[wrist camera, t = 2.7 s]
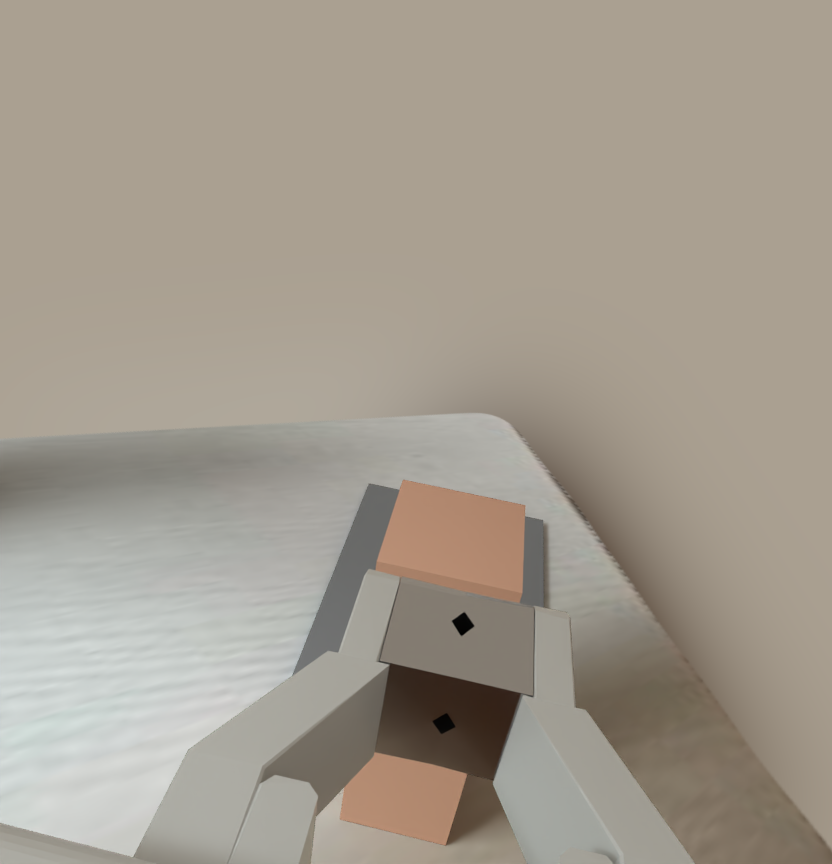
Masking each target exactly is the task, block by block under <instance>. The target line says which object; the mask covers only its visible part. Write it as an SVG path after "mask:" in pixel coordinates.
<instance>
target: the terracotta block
mask: <svg viewBox="0 0 832 864" xmlns="http://www.w3.org/2000/svg"><path fill="white" fill-rule="evenodd" d="M524 530H525V505H521V504H516V503H512V502H507V501H502V500H497V499H493V498H488V497H483V496H478V495H474V494H469V493H464V492H459V491H454V490H450V489H445V488H440V487H435V486H431V485H426V484H421V483H416V482H412V481H407V480H403V481H402V484H401V487H400V490H399V494H398V497H397V500H396V503H395V506H394V509H393V512H392V515H391V518H390V521H389V525H388V528H387V531H386V534H385V537H384V540H383V543H382V546H381V549H380V552H379V556H378V559H377V562H376V569H375V570H376V571H380V572H384V573H387V574H391V575H395V576H399V577H401V578H402V576H403V577H407V578H411V579H415V580H419V581H423V582H427V583H432V584H436V585H440V586H444V587H448V588H452V589H456V590H460V591H464V592H470V593H475V594H480V595H484V596H489V597H494V598H498V599H503V600H508V601H513V602H517V603H520V599H521V596H522V591H523V560H524ZM466 777H467V774H466V773H463V772H459V771H455V770H451V769H448V768H444V767H440V766H437V765H433V764H428V763H423V762H419V761H414V760H409V759H404V758H399V757H395V756H390V755H385V754H380V753H376V752H374V756H373V757H372V759H371V760H370V761H369V762H368V763H367V764H366V765H365V766H364V767H363V768H362V769H361V770H360V771H359V772H358V773H357V774H356V775H355V776H354V777H353V779H352V780H351V781H350V782H349V783H348V784H347V785H346V786H345V787H344V794H343V801H342V808H341V815H340V819H341V820H345V821H349V822H353V823H357V824H361V825H365V826H369V827H373V828H377V829H381V830H385V831H389V832H393V833H397V834H401V835H405V836H409V837H413V838H417V839H421V840H425V841H429V842H433V843H437V844H441V845H445V846H446V843H447V839H448V836H449V833H450V829H451V826H452V823H453V820H454V816H455V813H456V810H457V806H458V803H459V800H460V797H461V793H462V790H463V787H464V783H465V780H466Z"/></svg>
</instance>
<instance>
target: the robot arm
mask: <svg viewBox="0 0 832 864" xmlns="http://www.w3.org/2000/svg"><path fill="white" fill-rule="evenodd" d="M374 752H376V753H380V754H385V755H390V756H395V757H399V758H404V759H409V760H414V761H419V762H423V763H428V764H433V765H437V766H440V767H444V768H448V769H451V770H455V771H459V772H463V773H466V774H470V775H474V776H477V777H481V778H485V779H489V780H492V781H493V786H494V788H495V790H496V793H497V795H498V797H499V800H500V802H501V804H502V807H503V809H504V811H505V814H506V816H507V818H508V821H509V823H510V825H511V828H512V830H513V832H514V835H515V837H516V839H517V841H518V844H519V846H520V848H521V851H522V853H523V855H524V858H525V860H526V862H527V864H695V862H694V861H693V860H692V858H691V857H690V855H689V854H688V853H687V851H686V850H685V848H684V847H683V846H682V844H681V843H680V841H679V840H678V838H677V837H676V836H675V834H674V833H673V831H672V830H671V829H670V827H669V826H668V824H667V823H666V822H665V820H664V819H663V817H662V816H661V814H660V813H659V812H658V810H657V809H656V807H655V806H654V805H653V803H652V802H651V800H650V799H649V798H648V796H647V795H646V793H645V792H644V790H643V789H642V788H641V786H640V785H639V783H638V782H637V781H636V779H635V778H634V776H633V775H632V774H631V772H630V771H629V769H628V768H627V766H626V765H625V764H624V762H623V761H622V759H621V758H620V757H619V755H618V754H617V752H616V751H615V750H614V748H613V747H612V745H611V744H610V742H609V741H608V740H607V738H606V737H605V735H604V734H603V733H602V731H601V730H600V728H599V727H598V726H597V724H596V723H595V721H594V720H593V718H592V717H591V716H590V714H589V713H588V711H587V710H584V709H580V708H576V703H575V686H574V670H573V653H572V637H571V620H570V617H569V615H568V613H567V612H563V611H558V610H553V609H548V608H543V607H538V606H533V607H532V606H531V605H527V604H522V603H517V602H513V601H508V600H503V599H498V598H494V597H489V596H484V595H480V594H475V593H470V592H464V591H460V590H456V589H452V588H448V587H444V586H440V585H436V584H432V583H427V582H423V581H419V580H415V579H411V578H407V577H403V576H402V578H401V577H399V576H395V575H391V574H387V573H384V572H380V571H376V570H372V569H368V571H367V572H366V574H365V575H364V578H363V581H362V584H361V587H360V590H359V593H358V596H357V599H356V602H355V605H354V608H353V610H352V613H351V616H350V619H349V622H348V625H347V628H346V631H345V634H344V637H343V640H342V643H341V646H340V649H339V652H338V653H337V652H332V651H327V652H325V653H324V654H323V655H321V656H320V657H318V658H317V659H316V660H314V661H313V662H311V663H310V664H309V665H307V666H306V667H304V668H303V669H301V670H300V671H299V672H297V673H296V674H294V675H293V676H292V677H290V678H289V679H287V680H286V681H285V682H283V683H282V684H280V685H279V686H277V687H276V688H275V689H273V690H272V691H270V692H269V693H268V694H266V695H265V696H263V697H262V698H261V699H259V700H258V701H256V702H255V703H253V704H252V705H251V706H249V707H248V708H246V709H245V710H244V711H242V712H241V713H239V714H238V715H237V716H235V717H234V718H232V719H231V720H229V721H228V722H227V723H225V724H224V725H222V726H221V727H220V728H218V729H217V730H215V731H214V732H213V733H211V734H210V735H208V736H207V737H205V738H204V739H203V740H201V741H200V742H198V743H197V744H196V745H194V746H193V747H191V748H190V749H189V750H188V751H187V753H186V755H185V757H184V759H183V761H182V763H181V765H180V767H179V769H178V771H177V773H176V775H175V777H174V779H173V781H172V782H171V784H170V786H169V788H168V790H167V792H166V794H165V796H164V798H163V800H162V802H161V804H160V806H159V808H158V810H157V812H156V814H155V816H154V818H153V819H152V821H151V823H150V825H149V827H148V829H147V831H146V833H145V835H144V837H143V839H142V841H141V843H140V845H139V847H138V849H137V851H136V853H135V855H134V856H133V857H130V856H127V855H123V854H119V853H115V852H111V851H107V850H103V849H99V848H95V847H92V846H88V845H84V844H80V843H76V842H72V841H68V840H64V839H61V838H57V837H53V836H49V835H45V834H41V833H37V832H33V831H29V830H26V829H22V828H18V827H14V826H10V825H6V824H2V823H0V864H311V856H312V847H313V838H314V829H315V820H316V816H317V815H318V814H319V813H320V812H321V811H322V810H323V809H324V808H325V807H326V806H327V805H328V804H329V803H330V802H331V801H332V800H333V798H334V797H335V796H336V795H337V794H338V793H339V792H340V791H341V790H342V789H343V788H344V787H345V786H346V785H347V784H348V783H349V782H350V781H351V780H352V779H353V777H354V776H355V775H356V774H357V773H358V772H359V771H360V770H361V769H362V768H363V767H364V766H365V765H366V764H367V763H368V762H369V761H370V760H371V759H372V757H373V756H374Z"/></svg>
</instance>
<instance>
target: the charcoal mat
mask: <svg viewBox="0 0 832 864" xmlns="http://www.w3.org/2000/svg"><path fill="white" fill-rule="evenodd" d="M398 494H399V490H398V489H393V488H388V487H383V486H379V485H374V484H369V485H368V487H367V490H366V492H365V495H364V497H363V500H362V502H361V505H360V507H359V510H358V512H357V515H356V517H355V520H354V522H353V525H352V527H351V530H350V532H349V535H348V537H347V540H346V542H345V545H344V547H343V550H342V552H341V555H340V557H339V560H338V562H337V565H336V567H335V570H334V572H333V575H332V577H331V580H330V582H329V585H328V587H327V590H326V592H325V595H324V597H323V600H322V602H321V605H320V607H319V610H318V613H317V615H316V618H315V620H314V623H313V625H312V628H311V630H310V633H309V635H308V638H307V640H306V643H305V645H304V648H303V650H302V653H301V655H300V658H299V660H298V663H297V665H296V668H295V670H294V673H293V675H294V674H296V673H297V672H299V671H300V670H301V669H303V668H304V667H306V666H307V665H309V664H310V663H311V662H313V661H314V660H316V659H317V658H318V657H320V656H321V655H323V654H324V653H325V652H327V651H332V652H337V653H338V652H339V649H340V646H341V643H342V640H343V637H344V634H345V631H346V628H347V625H348V622H349V619H350V616H351V613H352V610H353V608H354V605H355V602H356V599H357V596H358V593H359V590H360V587H361V584H362V581H363V578H364V575H365V574H366V572H367V571H368V569H372V570H375V569H376V562H377V559H378V556H379V552H380V549H381V546H382V543H383V540H384V537H385V534H386V531H387V528H388V525H389V521H390V518H391V515H392V512H393V509H394V506H395V503H396V500H397V497H398ZM520 603H522V604H527V605H531V606H532V607H533V606H538V607H543V608H544V562H543V520H540V519H535V518H530V517H525V530H524V560H523V591H522V596H521V599H520ZM293 675H292V676H293Z"/></svg>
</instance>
